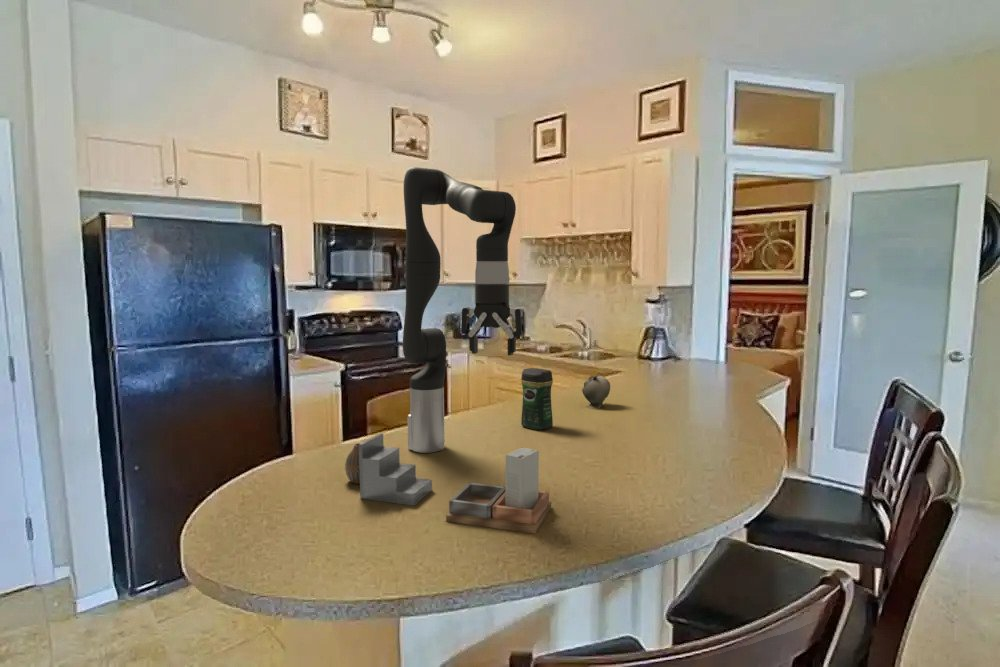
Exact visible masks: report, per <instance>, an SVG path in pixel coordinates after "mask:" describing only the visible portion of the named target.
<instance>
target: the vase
mask: <svg viewBox="0 0 1000 667" xmlns="http://www.w3.org/2000/svg"><path fill="white" fill-rule="evenodd" d="M360 443H361V442H359V443H355V444H354V445H353V447H352V450H350V452H349V453H348V455H347V457H346V460H345V464H344V469H345V470H344V471H345V475H346V477H347V478H348V480H349V481H351V483H353V484H355V485H360V469H359V444H360Z"/></svg>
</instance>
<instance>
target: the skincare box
mask: <svg viewBox="0 0 1000 667" xmlns="http://www.w3.org/2000/svg"><path fill="white" fill-rule="evenodd" d="M539 453H540V451H539V450H538V449H537V450H536V449H533V448H527V447H520V448H518V449H515V450H513V451H511V452H509V453H507V454H505V483H504V484H505V486H504V487H505V506H507V507H515V508H522V509H530V510H533V509H534V507H535V506H536V504H537V503H538V491H539V473H540V472H539V470H540V469H539V468H540V467H539V466H540V465H539V460H540V458H539V457H540V456H539Z"/></svg>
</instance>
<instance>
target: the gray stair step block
mask: <svg viewBox="0 0 1000 667" xmlns="http://www.w3.org/2000/svg"><path fill="white" fill-rule="evenodd" d="M359 443H360V444H359V469H360V484H359V498H360V499H363V500H371V501H376V502H385V503H392V504H400V505H407V506H413V507H414V506H415V505H416V504H418V503H419V502H420V501H422V500H423V499H424V498H425V497H426V496H427V495H428V494H430V493H431V492H433V480H432V479H430V478H429V479H428V478H421V477H416V474H417V472H416V470H417V469H416V464H411V463H403V462H402V463H401V462H400V448H399V447H394V446H393V447H392V446H385V445H384V433H383V432H381V433H378V434H376V435H374V436H372V437H370V438H368V439H366V440H365V441H363V442H359Z"/></svg>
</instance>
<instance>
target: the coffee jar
mask: <svg viewBox="0 0 1000 667" xmlns="http://www.w3.org/2000/svg"><path fill="white" fill-rule="evenodd" d="M553 378H554V377H553V373H552V371H551V370H548V369H543V368H538V367H537V368H536V367H530V368H523V370H522V373H521V378H520V379H521V381H520V382H521V386H522V406H521V420H520V423H521V426H522V427H523V428H527V429H531V430H537V431H540V430H548V429H551V428H552V427H553V424H554V422H553V420H554V419H553V409H552V394H551V393H552V386H553V383H554V379H553Z"/></svg>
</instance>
